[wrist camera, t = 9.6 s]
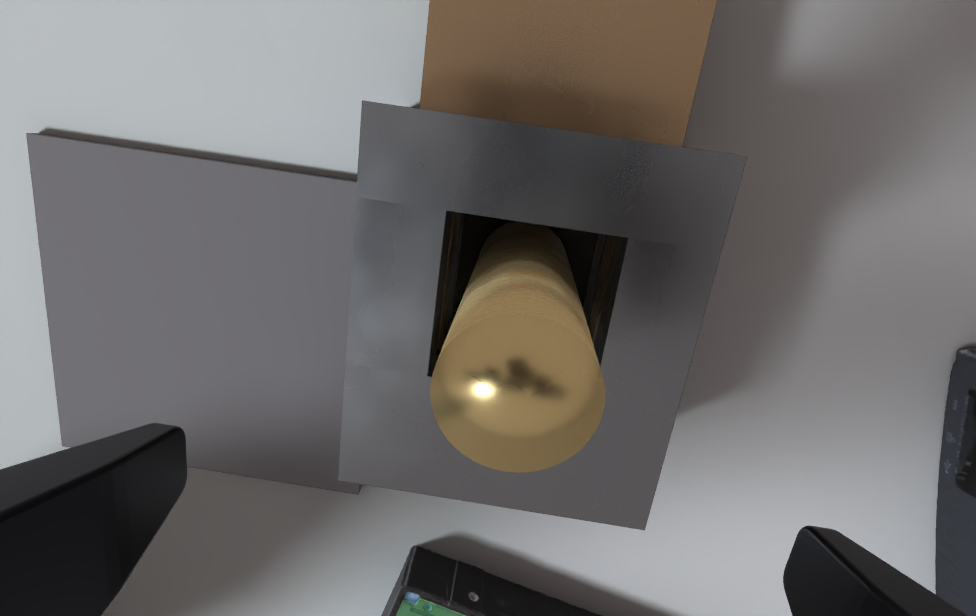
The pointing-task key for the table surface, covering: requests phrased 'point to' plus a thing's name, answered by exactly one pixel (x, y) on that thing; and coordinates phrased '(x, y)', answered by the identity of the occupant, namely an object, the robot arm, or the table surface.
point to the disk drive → (465, 592)
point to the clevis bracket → (545, 201)
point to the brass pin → (519, 358)
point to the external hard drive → (958, 490)
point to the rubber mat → (197, 304)
